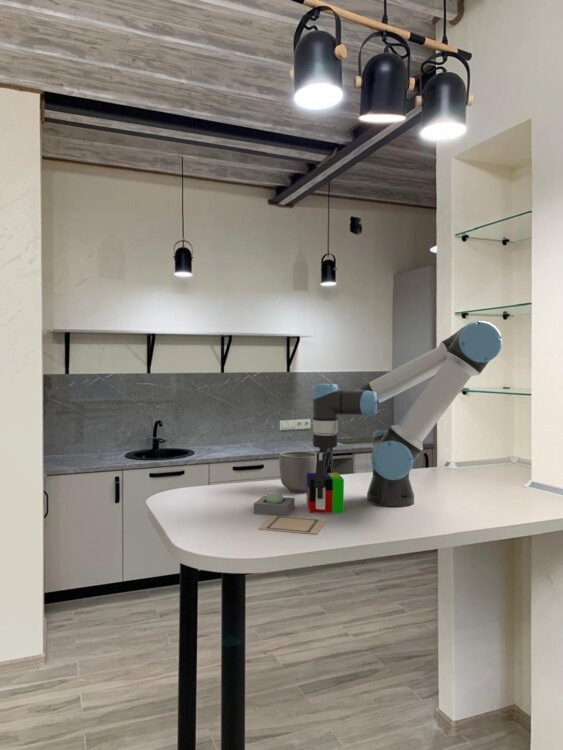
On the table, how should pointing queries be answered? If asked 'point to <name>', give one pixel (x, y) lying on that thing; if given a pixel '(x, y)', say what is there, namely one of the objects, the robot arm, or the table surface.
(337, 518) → the table surface
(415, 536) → the table surface
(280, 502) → the button
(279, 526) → the sheet
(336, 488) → the puzzle toy
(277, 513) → the button box
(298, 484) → the planter
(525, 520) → the table surface
